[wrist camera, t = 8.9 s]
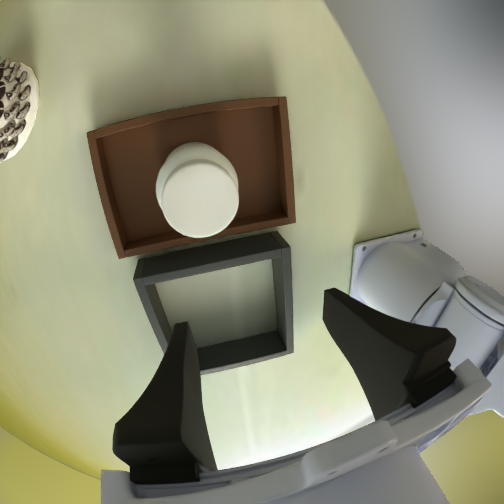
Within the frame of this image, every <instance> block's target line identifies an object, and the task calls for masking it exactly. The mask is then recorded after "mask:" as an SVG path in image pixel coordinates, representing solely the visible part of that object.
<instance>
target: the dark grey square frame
mask: <svg viewBox="0 0 504 504" xmlns="http://www.w3.org/2000/svg"><path fill="white" fill-rule="evenodd" d="M267 259H272V266H273V278H274V291H275V304H276V318H277V330H276V331H272V332H268V333H264V334H260V335H256V336H252V337H248V338H244V339H240V340H235V341H231V342H226V343H222V344H217V345H212V346H208V347H203V348H198V349H197V353H198V359H199V365H200V375H204V374H209V373H214V372H219V371H224V370H228V369H233V368H237V367H241V366H246V365H250V364H254V363H258V362H262V361H266V360H269V359H273V358H277V357H280V356H284V355H287V354H291V353H293V352H294V345H293V297H292V269H291V247H290V245H289V244H288V243H287V242H286V241H285V239H284V238H283V237H282V236H281V235H280V234H279V232H278V231H276V232H271V233H266V234H261V235H256V236H251V237H246V238H241V239H236V240H231V241H226V242H221V243H216V244H211V245H206V246H201V247H197V248H192V249H187V250H182V251H178V252H173V253H168V254H163V255H159V256H154V257H149V258H144V259H140V260H138V262H137V266H136V270H135V274H134V278H133V280H134V283H135V286H136V289H137V291H138V294H139V296H140V299H141V301H142V304H143V307H144V309H145V311H146V314H147V316H148V319H149V321H150V323H151V326H152V328H153V330H154V333H155V335H156V337H157V339H158V342H159V344H160V346H161V348H162V350H163V353H164V354H165V352H166V349H167V347H168V344H169V341H170V338H171V335H172V331H171V328H170V326H169V323H168V320H167V318H166V315H165V312H164V310H163V307H162V304H161V301H160V299H159V296H158V293H157V290H156V287H155V284H154V283H158V282H163V281H168V280H173V279H178V278H183V277H187V276H192V275H197V274H202V273H207V272H211V271H216V270H221V269H226V268H230V267H235V266H240V265H244V264H249V263H254V262H258V261H263V260H267Z"/></svg>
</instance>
